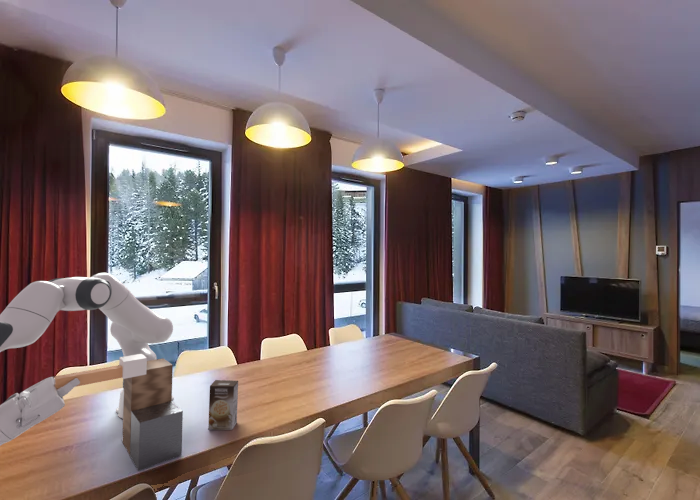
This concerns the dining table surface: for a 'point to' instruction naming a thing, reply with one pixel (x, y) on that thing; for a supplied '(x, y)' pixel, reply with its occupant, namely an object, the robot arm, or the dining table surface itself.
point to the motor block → (156, 434)
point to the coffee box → (223, 405)
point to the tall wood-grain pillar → (146, 392)
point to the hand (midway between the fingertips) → (77, 377)
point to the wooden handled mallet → (108, 372)
